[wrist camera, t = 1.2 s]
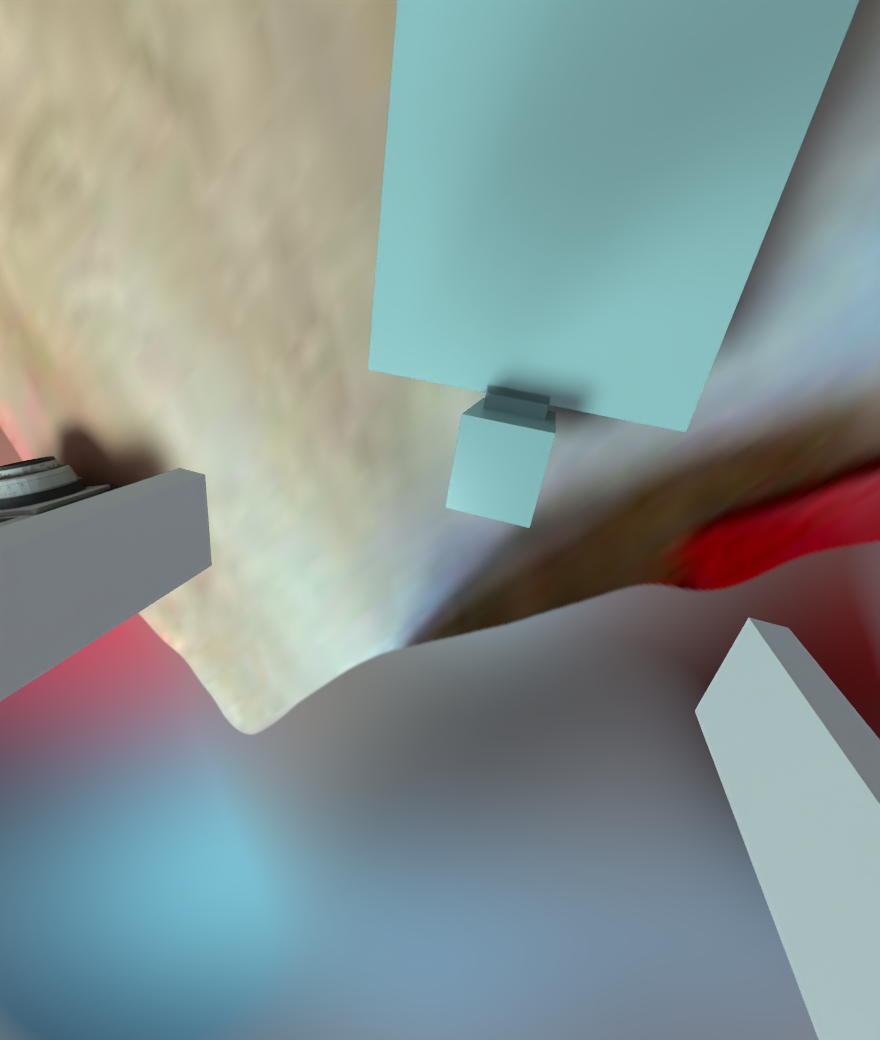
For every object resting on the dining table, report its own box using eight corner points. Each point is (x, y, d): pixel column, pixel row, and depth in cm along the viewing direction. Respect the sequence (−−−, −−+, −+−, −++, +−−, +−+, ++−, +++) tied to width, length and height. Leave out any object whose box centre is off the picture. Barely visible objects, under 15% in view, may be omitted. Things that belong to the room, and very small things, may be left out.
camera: (131, 443, 37) (-3, 474, 28) (166, 529, 40) (54, 582, 31) (23, 457, 41) (-124, 489, 32) (62, 535, 44) (-64, 583, 35)
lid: (439, -120, 17) (383, -341, 11) (874, -121, 14) (1069, -405, 9) (381, 452, 26) (336, 480, 21) (634, 510, 24) (657, 559, 19)
